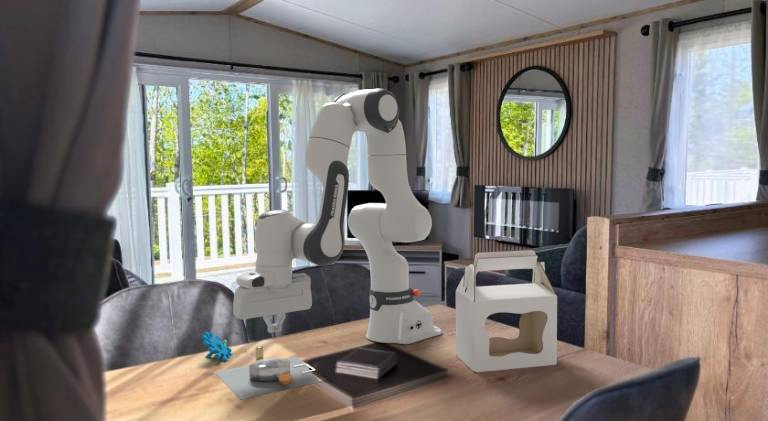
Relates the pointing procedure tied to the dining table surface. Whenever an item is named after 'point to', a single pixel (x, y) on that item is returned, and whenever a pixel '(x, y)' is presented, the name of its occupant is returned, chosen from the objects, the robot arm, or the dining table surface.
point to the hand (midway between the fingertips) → (274, 331)
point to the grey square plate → (249, 388)
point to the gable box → (525, 298)
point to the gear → (216, 346)
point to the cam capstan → (270, 369)
